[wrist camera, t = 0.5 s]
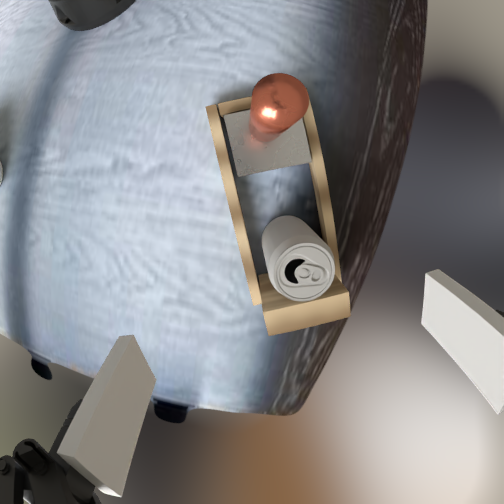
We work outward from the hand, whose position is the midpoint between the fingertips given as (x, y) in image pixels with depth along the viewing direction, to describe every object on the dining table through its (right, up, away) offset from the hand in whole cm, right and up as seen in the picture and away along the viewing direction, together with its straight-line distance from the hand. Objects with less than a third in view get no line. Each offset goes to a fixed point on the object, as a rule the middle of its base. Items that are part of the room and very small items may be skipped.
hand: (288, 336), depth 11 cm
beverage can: (+3, +5, +25) cm, 26 cm away
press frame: (+2, +10, +23) cm, 26 cm away
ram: (0, +17, +21) cm, 27 cm away
